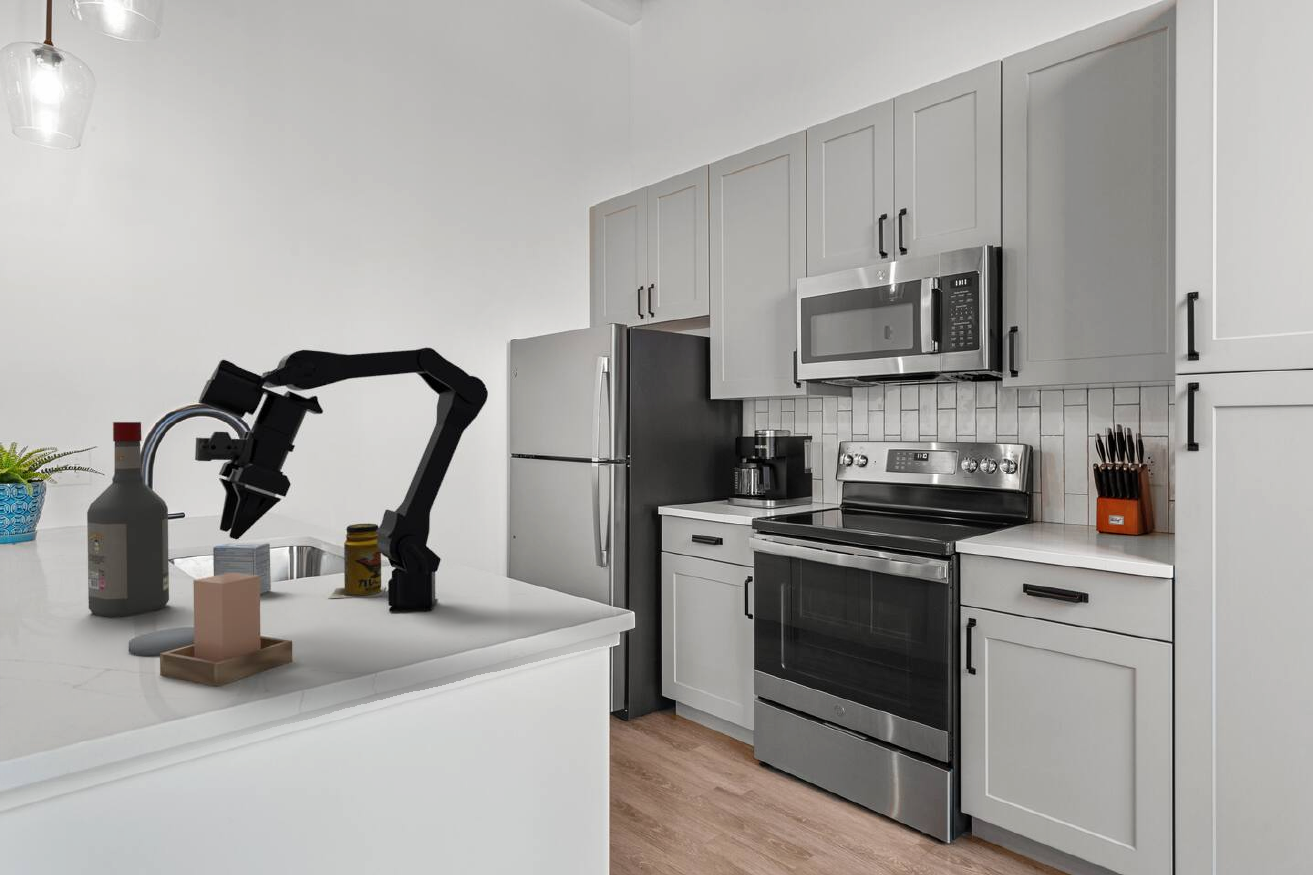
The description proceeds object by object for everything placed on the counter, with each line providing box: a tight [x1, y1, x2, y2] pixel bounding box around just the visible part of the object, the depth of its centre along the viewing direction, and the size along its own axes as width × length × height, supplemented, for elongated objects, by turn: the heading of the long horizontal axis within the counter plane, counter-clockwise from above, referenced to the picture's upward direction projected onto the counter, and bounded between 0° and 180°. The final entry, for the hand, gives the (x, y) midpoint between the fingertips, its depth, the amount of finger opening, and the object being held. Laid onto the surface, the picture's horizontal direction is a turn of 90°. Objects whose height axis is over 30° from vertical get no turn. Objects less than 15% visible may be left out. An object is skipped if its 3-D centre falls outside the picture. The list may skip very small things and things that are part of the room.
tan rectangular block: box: [193, 573, 261, 662], centre depth 92 cm, size 5×5×11 cm
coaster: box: [128, 626, 194, 656], centre depth 101 cm, size 10×10×1 cm
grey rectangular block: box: [212, 542, 272, 596], centre depth 132 cm, size 8×4×9 cm, turn 84°
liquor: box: [86, 421, 170, 618], centre depth 120 cm, size 9×9×30 cm
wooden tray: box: [159, 635, 293, 687], centre depth 92 cm, size 10×10×2 cm
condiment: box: [328, 523, 386, 599], centre depth 132 cm, size 7×8×12 cm
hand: (228, 534), depth 105 cm, fingers open, 9 cm apart
